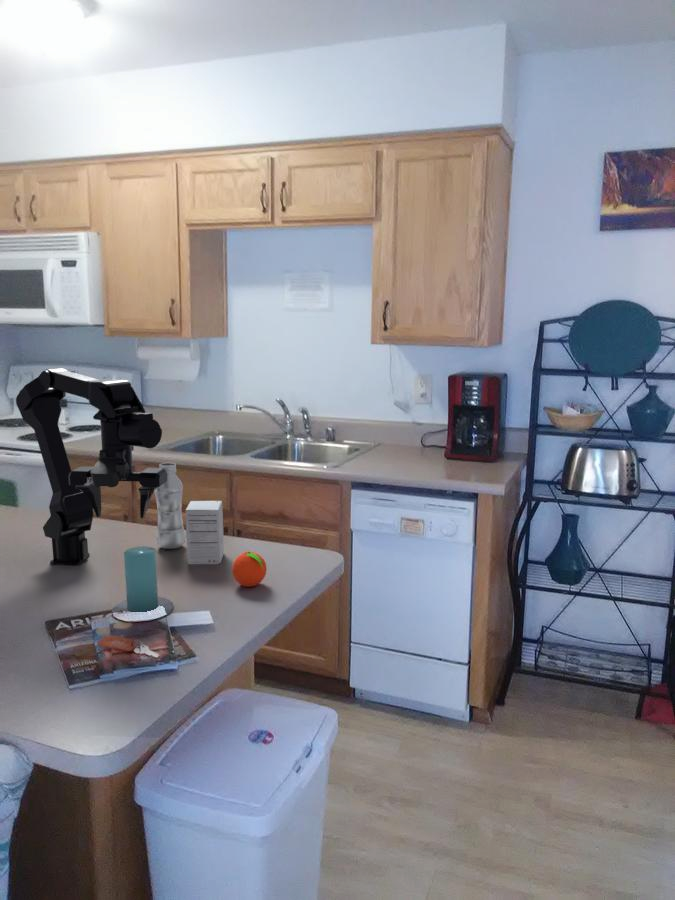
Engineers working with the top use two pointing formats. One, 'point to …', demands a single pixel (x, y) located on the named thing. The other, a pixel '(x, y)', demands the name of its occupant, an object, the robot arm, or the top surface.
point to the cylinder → (141, 579)
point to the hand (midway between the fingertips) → (120, 517)
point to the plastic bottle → (170, 510)
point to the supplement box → (204, 532)
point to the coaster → (161, 601)
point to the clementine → (249, 569)
